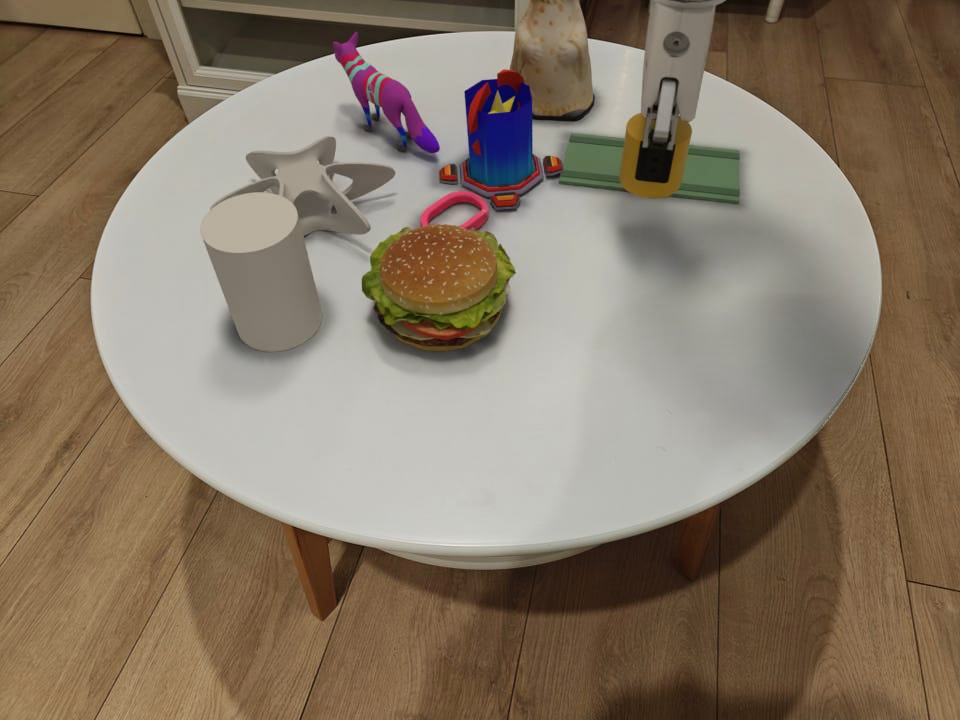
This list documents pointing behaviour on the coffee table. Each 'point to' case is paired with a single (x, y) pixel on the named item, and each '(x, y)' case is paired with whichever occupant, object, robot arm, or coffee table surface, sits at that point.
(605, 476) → the coffee table surface
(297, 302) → the beige solid cylinder
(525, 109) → the fantasy tower
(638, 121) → the yellow stemmed cylinder
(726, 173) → the green grooved tray
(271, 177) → the sculpture
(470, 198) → the fitness band
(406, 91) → the magenta toy fox
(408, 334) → the food
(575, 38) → the figurine
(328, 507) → the coffee table surface
